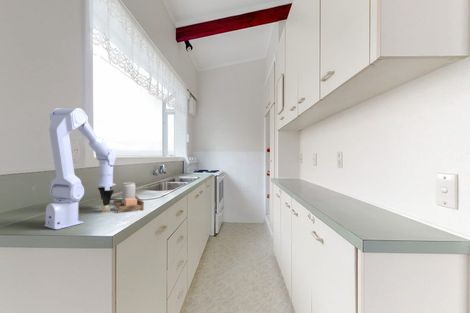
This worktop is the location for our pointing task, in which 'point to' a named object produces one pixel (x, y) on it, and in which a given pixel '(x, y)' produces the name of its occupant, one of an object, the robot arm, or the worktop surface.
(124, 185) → the beverage can
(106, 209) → the grey rod with ends
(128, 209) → the lane organiser
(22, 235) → the worktop surface
